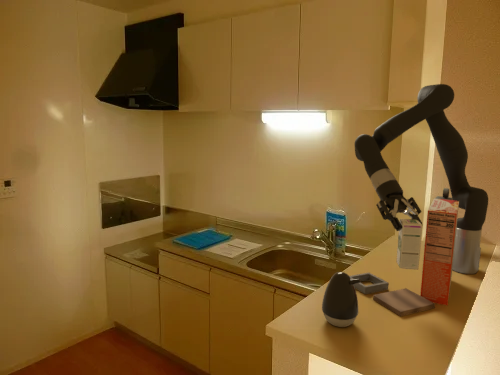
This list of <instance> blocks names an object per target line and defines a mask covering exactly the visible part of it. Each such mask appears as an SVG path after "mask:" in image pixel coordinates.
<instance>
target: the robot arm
mask: <svg viewBox="0 0 500 375" xmlns="http://www.w3.org/2000/svg"><path fill="white" fill-rule="evenodd" d="M416 100H417V103H416V104H415V105H413V106H412V107H409V108H407V109H405V110H403V111H402V112H399V113H397V114H395V115H393V116H392V117H390V118H388V119H387V120H386V121H384V122H383V123H381V124H380V125H378V126H377V127H376V128H375V129H374V131H373V134H372V136H371V135H370V134H366V133H363V134H360V135H358V136H357V137H356V139H355V140H354V155H355V158H356V159H357V160H359V162H360V161H361V162H363V165H364V170H365V172H366V174H367V175H368V176H367V177H368V178H369V179H370V182H371V185H372V187H373V189H374V190H375V193H376V194H377V196H378V198H379V201H378V202H377V203H376V208H377V210H378V211H379V213H380V215H381V217H382V219H383V220H385V221H386V220H388V221H389V222H390V223H391V224H392V227H393V228H394V230H396V232H399V231H400V230H401V229H402V225H401V223H400V219H399V218H398V217H397V214H398V213H400V214H401V213H402V214H404V215H406V216H408V217H409V218H410V219H414V220H418V221H419V222H420V223H421V224H422V225H423V222H422V220H421V219H420V216H419V215H420V214H421V213H422V209H421V208H420V206H419V205H418V203H417V201H416V200H415V198H414V197H410V198H406V197H405V196H404V190H403V189H402V186H401V184H400V183H399V181H398V180H397V178H396V176H395V174H394V173H393V172H392V171H391V170H390V168H389V166H388V164H387V162H386V161H385V160H384V158H383V155H382V153H381V152H382V151H383V150H384V149H385V148H386V147H387V146H388V144H390V143H392V142H394V141H395V140H396V139H397V138H398V137H400V136H401V135H403V134H404V133H406V132H407V131H408V130H410V129H411V128H412V127H415V126H416V125H418V124H420V123H421V122H423V121H426V123H427V125H428V128H429V131H430V133H431V135H432V139H433V141H434V143H435V147H436V151H437V153H438V156H439V158H440V161H441V163H442V167H443V169H444V173H445V175H446V178H447V181H448V186H449V192H450V194H451V198H452V199H453V200H456V201H459V207H458V209H461V210H464V214H463V217H459V218H458V217H457V227H456V237H455V247H454V257H453V266H452V271H454V272H456V273H460V274H466V275H475V274H477V273H478V271H479V270H480V269H479V268H480V262H481V261H480V259H481V253H482V247H481V239H482V230H483V226H484V224H485V222H486V218H487V212H488V207H489V196H488V193H487V191H486V190H484V189H483V188H479V187H476V186H475V187H474V186H471V185H470V183H469V181H468V178H467V176H466V168H467V167H466V166H467V162H468V159H469V158H468V157H469V156H468V155H469V151H468V149H467V146H466V143H465V141H464V139H463V136H462V135H461V134H460V132H459V131H458V130H457V129H456V128H455V127H454V125H453V124H452V123H451V122H450V120H449V119H448V118H447V116H446V113H445V110H446V109H448V108H449V107H450V106H451V105H452V104H453V102H454V100H455V91H454V89H453V87H451V86H450V85H448V84H445V83H436V84H429V85H424V86H423V87H421V88H420V90H419V91H418V93H417V98H416Z"/></svg>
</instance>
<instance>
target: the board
mask: <svg viewBox="0 0 500 375" xmlns="http://www.w3.org/2000/svg"><path fill="white" fill-rule="evenodd" d="M372 300H374V301H375V302H376V303H378V304H380V305H381V306H384V307H385V308H386V309H388V310H389V311H391V312H393V313H394V314H396V315H397V316H398V317H403V316H407V315H411V314H416V313H420V312H423V311H428V310H432V309H435V308H436V303H434V302H431V301H429V300H428V299H426V298H424V297H422V296H420V295H419V294H418V293H416V292H414V291H413V290H410V289H408V288H406V287H405V288H401V289H396V290H391V291H386V292H382V293H377V294H373V295H372Z"/></svg>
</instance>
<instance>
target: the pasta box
mask: <svg viewBox="0 0 500 375" xmlns="http://www.w3.org/2000/svg"><path fill="white" fill-rule="evenodd" d="M435 198H436V197H435ZM435 198H433V200H432V202H431V204H430V206H429V207H428V209H427V214H426V227H425V238H424V249H423V250H424V251H423V260H422V261H423V262H422V272H421V284H420V293H419V294H420V296H422V297H424V298H426V299H428V300H429V301H431V302H433V303H435V304H438V305H443V306H449V298H450V291H451V284H452V275H453V270H452V266H453V257H454V247H455V237H456V227H457V219H458V214H459V201H456V200H445V199H435Z"/></svg>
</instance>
